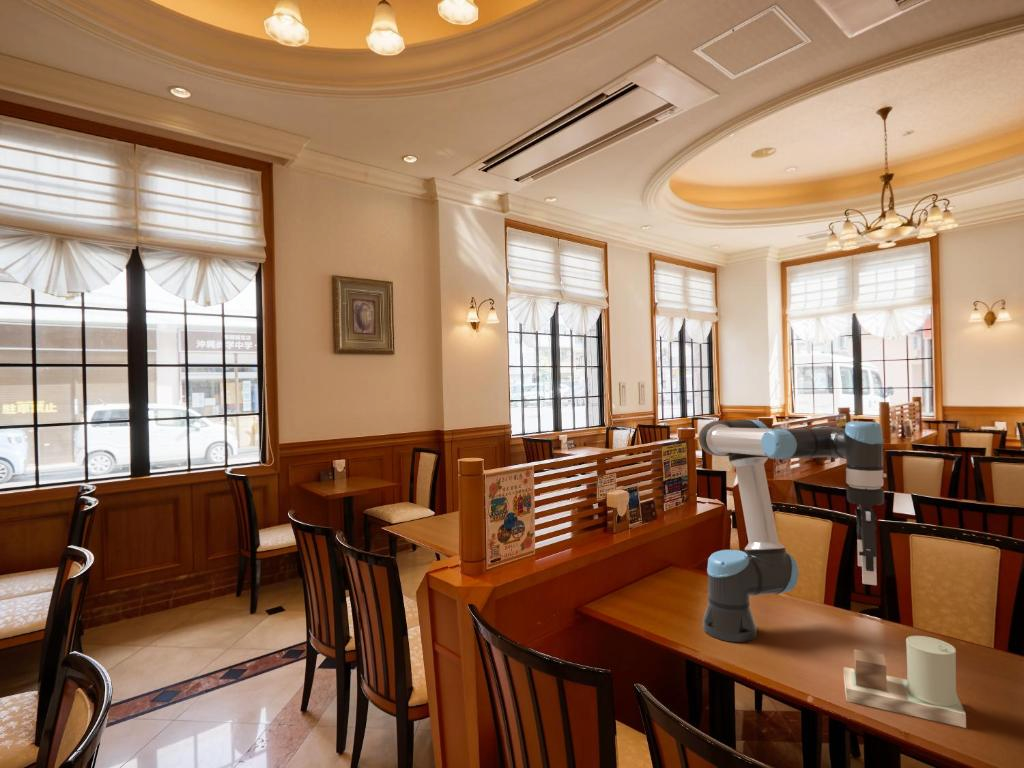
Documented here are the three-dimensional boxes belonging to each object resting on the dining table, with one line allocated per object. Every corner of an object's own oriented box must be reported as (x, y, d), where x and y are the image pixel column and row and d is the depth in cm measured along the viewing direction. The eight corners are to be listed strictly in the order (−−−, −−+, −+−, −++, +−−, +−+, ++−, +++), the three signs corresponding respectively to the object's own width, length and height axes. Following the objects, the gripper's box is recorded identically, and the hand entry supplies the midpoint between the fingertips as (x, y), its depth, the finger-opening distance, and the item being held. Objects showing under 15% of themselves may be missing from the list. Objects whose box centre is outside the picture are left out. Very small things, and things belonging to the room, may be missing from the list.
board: (846, 701, 127) (846, 688, 127) (843, 678, 137) (843, 666, 137) (966, 727, 117) (965, 713, 117) (954, 701, 126) (953, 688, 126)
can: (942, 710, 118) (941, 655, 118) (897, 689, 126) (896, 638, 127) (966, 700, 122) (965, 646, 122) (921, 680, 130) (920, 630, 130)
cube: (856, 685, 129) (855, 660, 129) (854, 673, 134) (854, 649, 134) (886, 691, 126) (886, 665, 126) (883, 679, 131) (883, 654, 131)
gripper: (890, 497, 117) (892, 595, 117) (878, 479, 139) (879, 561, 139) (849, 494, 121) (851, 589, 121) (843, 477, 143) (845, 557, 143)
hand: (866, 575), depth 130 cm, fingers open, 13 cm apart
